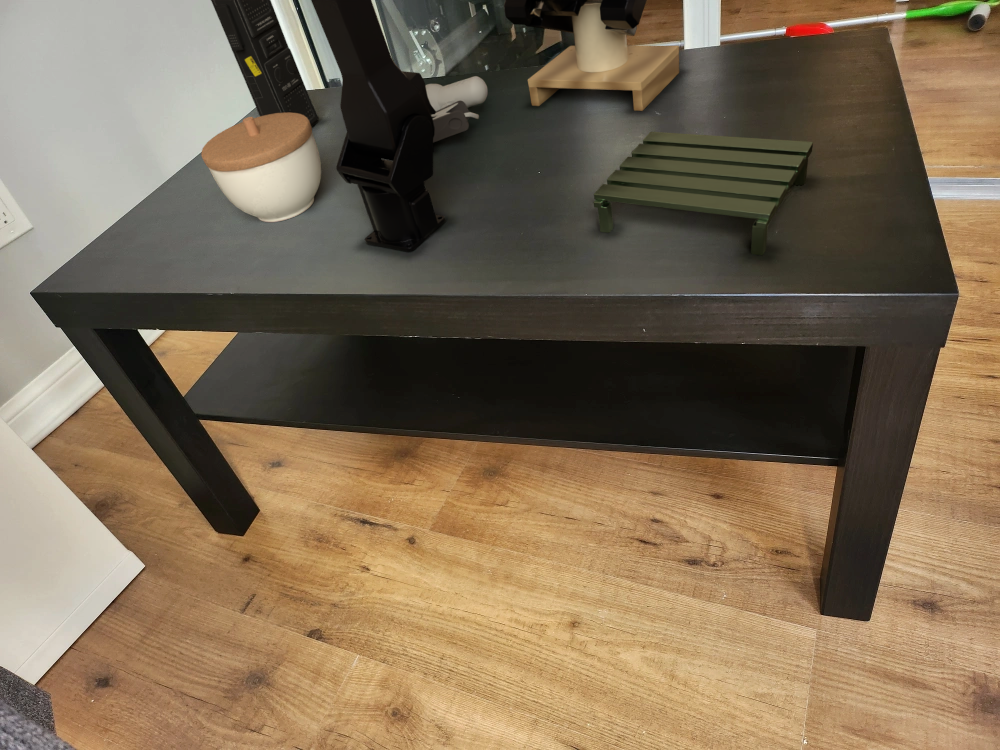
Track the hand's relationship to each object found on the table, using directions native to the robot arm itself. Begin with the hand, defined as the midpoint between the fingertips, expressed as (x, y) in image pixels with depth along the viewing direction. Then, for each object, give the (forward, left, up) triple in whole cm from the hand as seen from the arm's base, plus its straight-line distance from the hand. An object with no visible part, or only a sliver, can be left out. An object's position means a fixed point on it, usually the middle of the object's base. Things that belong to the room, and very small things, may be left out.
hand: (606, 30), depth 90 cm
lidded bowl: (-25, -38, -7) cm, 46 cm away
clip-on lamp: (-19, -17, -7) cm, 27 cm away
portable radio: (-42, -20, -7) cm, 47 cm away
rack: (+23, -27, -7) cm, 36 cm away
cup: (0, -1, -3) cm, 4 cm away
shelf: (0, -1, -7) cm, 7 cm away
